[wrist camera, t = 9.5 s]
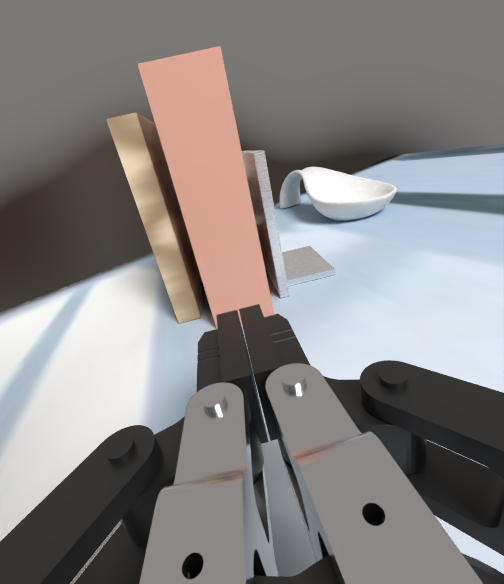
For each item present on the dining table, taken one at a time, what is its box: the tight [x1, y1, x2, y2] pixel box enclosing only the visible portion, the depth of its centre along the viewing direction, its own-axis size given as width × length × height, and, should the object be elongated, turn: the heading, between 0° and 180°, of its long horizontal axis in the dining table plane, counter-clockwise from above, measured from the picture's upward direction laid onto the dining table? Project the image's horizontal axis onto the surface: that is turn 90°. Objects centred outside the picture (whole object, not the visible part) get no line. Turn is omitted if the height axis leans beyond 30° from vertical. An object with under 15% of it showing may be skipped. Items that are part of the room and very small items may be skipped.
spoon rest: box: [280, 167, 397, 221], centre depth 51 cm, size 24×12×7 cm, turn 27°
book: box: [138, 46, 274, 329], centre depth 28 cm, size 5×14×18 cm, turn 8°
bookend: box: [242, 151, 335, 298], centre depth 31 cm, size 6×12×12 cm, turn 8°
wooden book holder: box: [107, 113, 202, 323], centre depth 31 cm, size 10×14×16 cm
